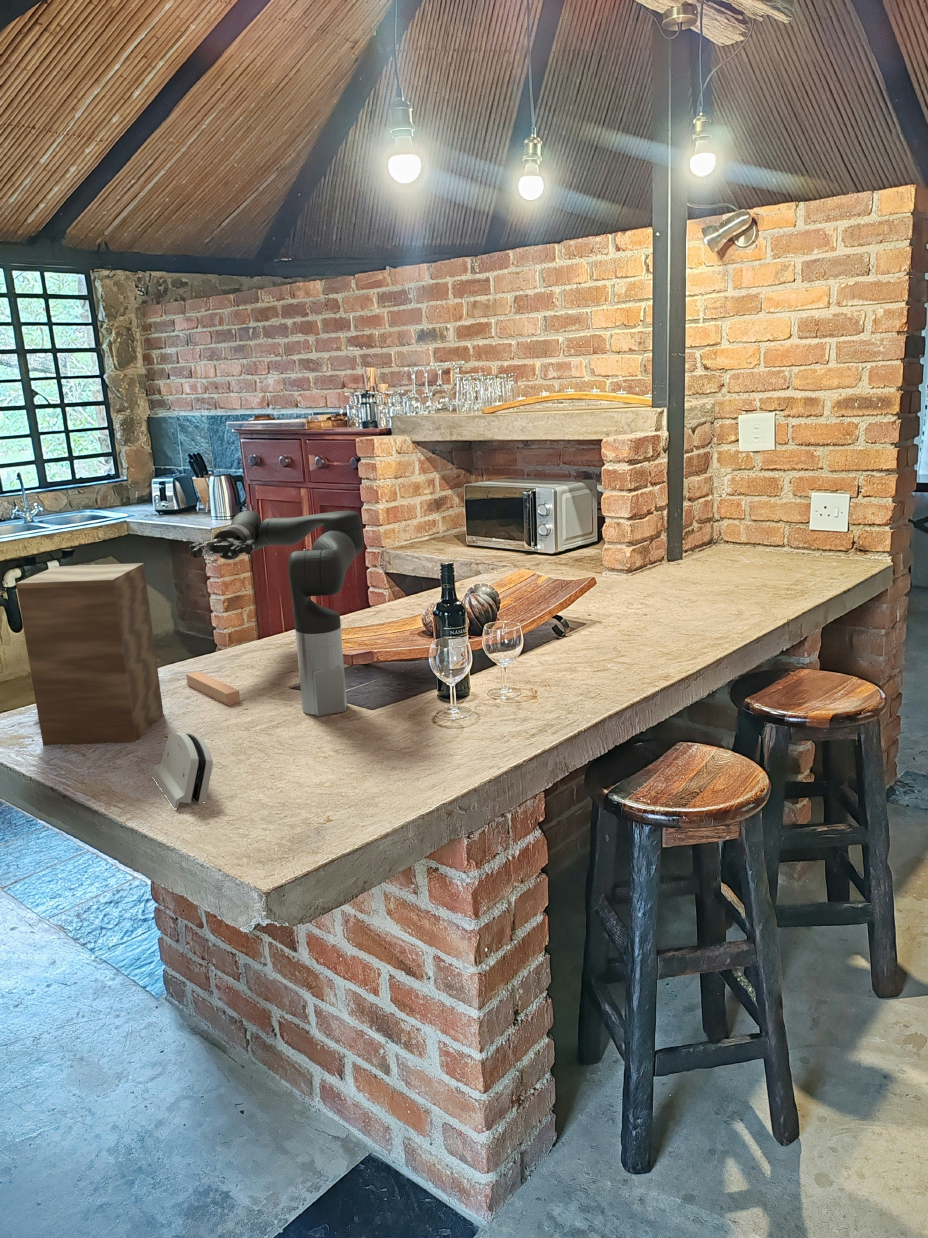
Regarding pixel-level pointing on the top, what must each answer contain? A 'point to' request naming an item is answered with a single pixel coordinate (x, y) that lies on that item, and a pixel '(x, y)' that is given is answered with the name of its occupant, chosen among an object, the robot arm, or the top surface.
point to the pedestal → (91, 653)
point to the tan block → (213, 688)
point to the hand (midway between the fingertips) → (214, 553)
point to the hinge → (184, 769)
